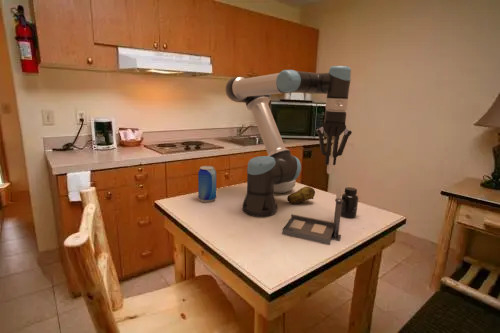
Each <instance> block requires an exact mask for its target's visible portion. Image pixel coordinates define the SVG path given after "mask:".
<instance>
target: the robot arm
mask: <svg viewBox="0 0 500 333" xmlns="http://www.w3.org/2000/svg"><path fill="white" fill-rule="evenodd" d="M351 75H352V68H351V67H350V66H345V65H334V66H330V67H329V69H328V72H321V73H320V72H308V71H302V70H301V71H298V70H294V69H283V70H281V71H280V72H277V73H271V74H270V73H269V74H266V75H260V76H253V77H243V76H236V77H231V78H230V79H229V80H228V81H227V82H226V85H225V89H224V90H225V94H226V96H227V98H229V100H230V101H232V102H234V103H235V102H236V103H244V104H245V105H246V108H247V110H248V111H251V113H252V116H253V119H254V120H255V123H256V126H257V129H258V131H259V134H260V137H261V139H262V142H263V145H264V147H265V148H264V149H265V150H266V152H267V155H263V156H256V157H252V158H250V159H249V160H248V162H247V169H246V174H247V175H246V176H247V177H246V178H247V179H246V181H247V182H246V194H245V198H244V200H243V202H242V208H241V210H242V212H243V213H244V214H246V215H249V216H251V217H257V218H258V217H261V218H262V217H271V216H273V215H275V214H276V213H277V210H278V207H277V206H278V205H277V202H276V199H275V192H274V185H278V184H282V183H288V182H291V181H294V180H297V179H298V178H299V176H300V174H301V172H302V165H301V163H302V162H301V161H300V159H299V158H298V157H296V156H295V155H292V153H291V152H292V151H291V150H290V149H288V148H286V146H285V144H284V141H283V139H282V136H281V134H280V131H279V129H278V126H277V123H276V120H275V119H274V116H273V113H272V110H271V108H270V105H269V104H270V99H271V95H278V94H279V95H280V94H292V93H293V94H294V93H296V94H308V95H313V94H314V95H315V94H316V95H317V94H318V95H319V94H320V95H321V94H322V95H326V99H325V103H326V104H325V110H326V111H325V112H324V122H323V124H322V126H321V127H319V128H316V134H317V135H318V143H319V147H320V153H321V155H322V156H325V157H324V158H325V159H324V164H325V165H326V166H327V167H326V173H327V175H332V174H333V166H336V165H337V158H338V157H339V156H340V157H341V156H342V155H343V153H344V150H345V147H346V145H347V141H348V139H349V137H350V136H351V135H352V131H351V130H349V129H348V128H347V125H346V121H347V112H346V111H347V110H348V102H349V93H350V86H351V80H352V78H351ZM324 132H325V134H326V148H325V142H324V135H323V134H324ZM342 134H343V135H342ZM341 135H342V138H341V141H340V144H339V140H340V136H341ZM332 140H333V143H332ZM332 144H333V145H332ZM331 149H332V150H331ZM331 151H332V153H331ZM331 154H332V155H331Z"/></svg>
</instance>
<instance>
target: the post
mask: <svg viewBox="0 0 500 333" xmlns="http://www.w3.org/2000/svg"><path fill="white" fill-rule="evenodd" d="M334 200H335V208H334V215H333V218H334V219H333V222H334V225H333V234H332V239H331V241H338V242H340V241H341V237H342V234H340V233H339V231H340V222H341V207H342V202H343V199H339V198H337V199H336V198H335V199H334Z"/></svg>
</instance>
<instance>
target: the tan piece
mask: <svg viewBox="0 0 500 333" xmlns="http://www.w3.org/2000/svg"><path fill="white" fill-rule="evenodd" d="M337 198H339V199H341V198H342V189H341V188H338V187H337V188H336V196H335V199H337Z"/></svg>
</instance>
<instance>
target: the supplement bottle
mask: <svg viewBox="0 0 500 333" xmlns="http://www.w3.org/2000/svg"><path fill="white" fill-rule="evenodd" d="M357 194H358V189H357V188H355V187H352V186H351V187H349V186H348V187H347V186H346V187H345V188H344V193H342V194H341V199H343V202H342V207H341V216H342V217H343V218H347V219H353V218H356V216H357V212H358V204H359V196H358V195H357ZM341 216H340V217H341Z"/></svg>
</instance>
